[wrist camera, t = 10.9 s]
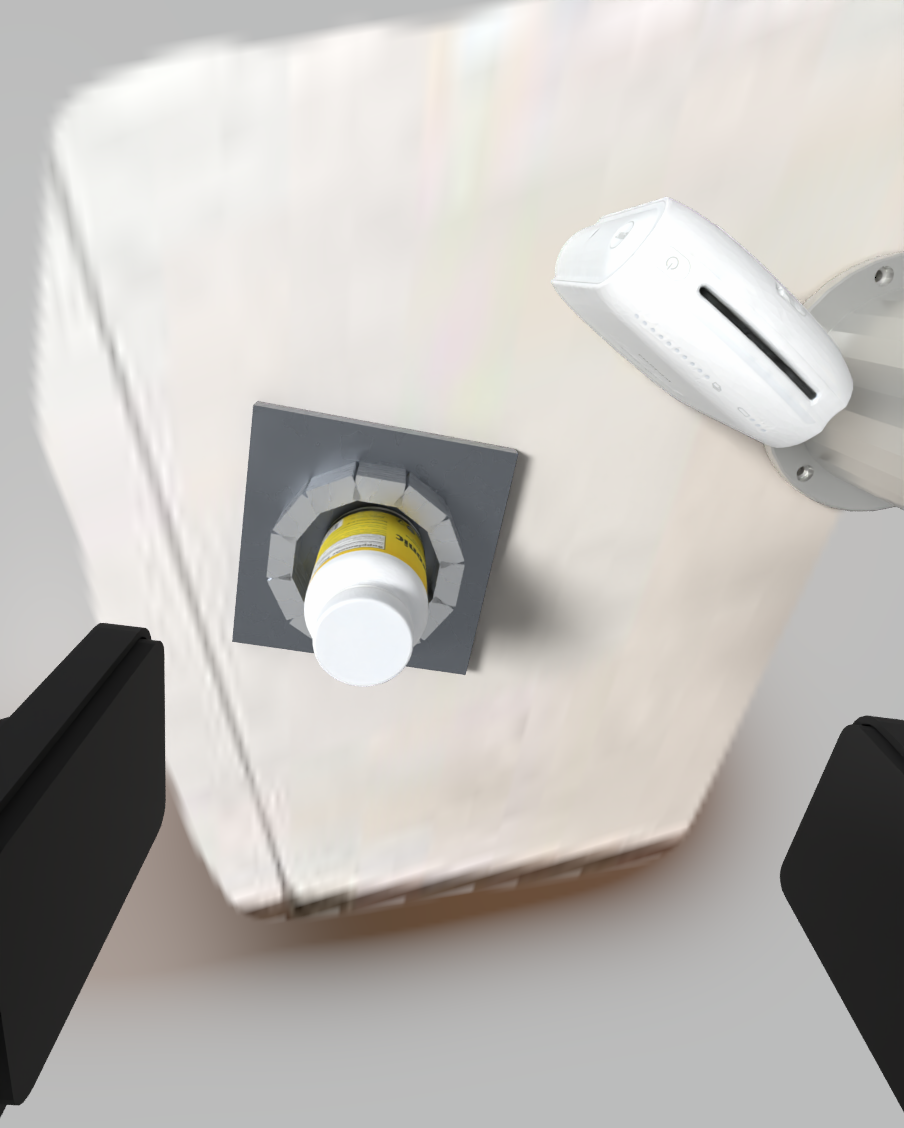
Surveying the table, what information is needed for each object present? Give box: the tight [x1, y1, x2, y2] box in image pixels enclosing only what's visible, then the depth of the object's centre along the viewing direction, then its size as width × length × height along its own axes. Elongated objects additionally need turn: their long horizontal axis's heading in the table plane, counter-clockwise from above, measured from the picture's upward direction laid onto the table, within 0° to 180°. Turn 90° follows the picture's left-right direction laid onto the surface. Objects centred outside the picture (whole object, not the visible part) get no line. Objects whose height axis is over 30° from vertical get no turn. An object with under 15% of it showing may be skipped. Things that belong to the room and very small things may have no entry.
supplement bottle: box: [304, 507, 429, 686], centre depth 32 cm, size 5×5×10 cm
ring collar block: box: [232, 401, 518, 675], centre depth 36 cm, size 13×13×4 cm
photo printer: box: [551, 197, 853, 448], centre depth 28 cm, size 10×4×12 cm, turn 52°
